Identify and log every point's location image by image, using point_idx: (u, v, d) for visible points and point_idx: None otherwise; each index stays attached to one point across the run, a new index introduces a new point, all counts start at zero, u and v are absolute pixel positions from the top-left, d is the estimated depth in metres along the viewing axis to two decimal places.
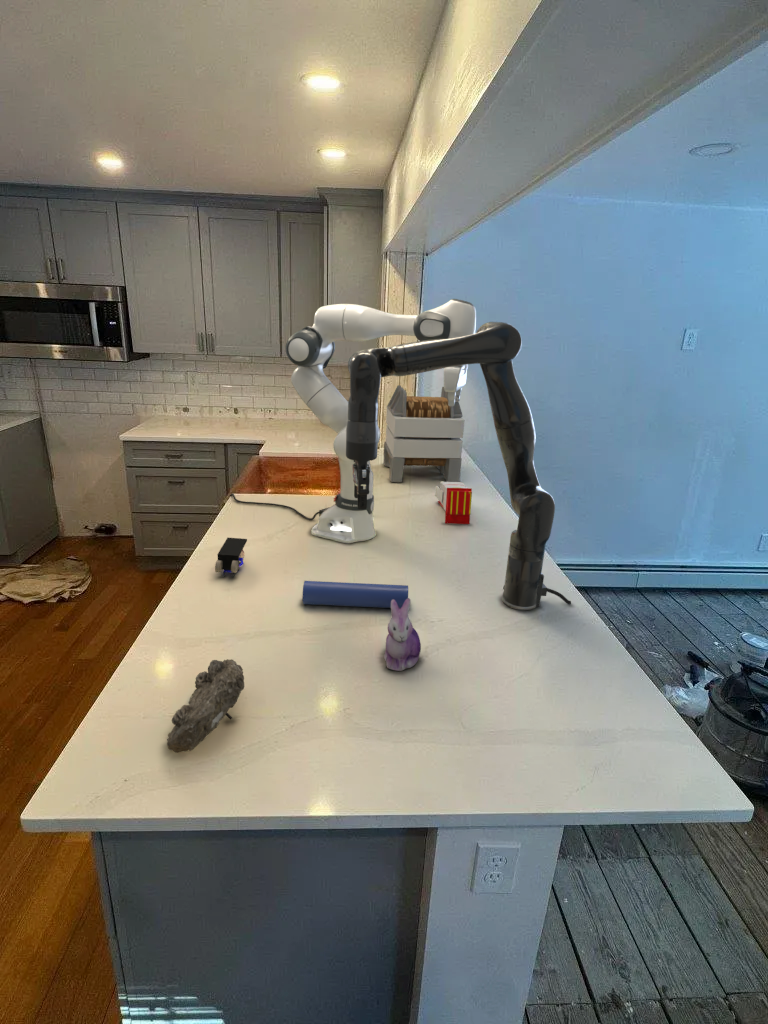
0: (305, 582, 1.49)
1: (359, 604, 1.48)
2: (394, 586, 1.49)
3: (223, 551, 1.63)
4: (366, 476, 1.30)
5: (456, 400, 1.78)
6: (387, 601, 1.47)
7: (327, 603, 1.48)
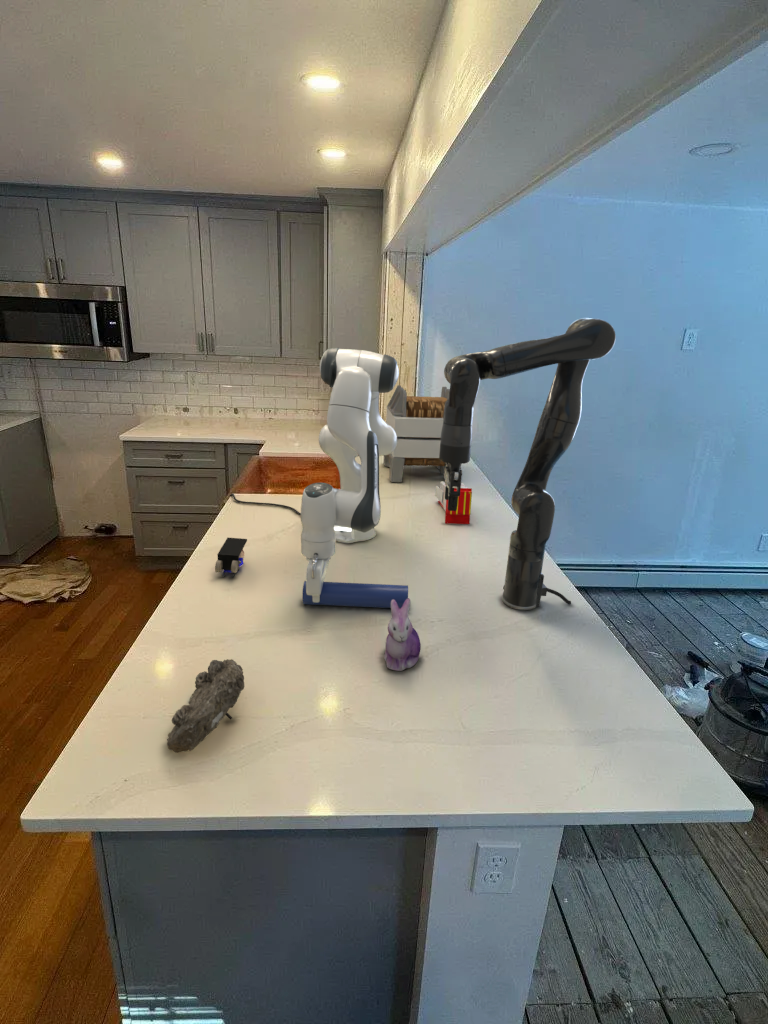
0: (305, 582, 1.49)
1: (359, 604, 1.48)
2: (394, 586, 1.49)
3: (223, 551, 1.63)
4: (458, 478, 1.34)
5: None
6: (387, 601, 1.47)
7: (327, 603, 1.48)
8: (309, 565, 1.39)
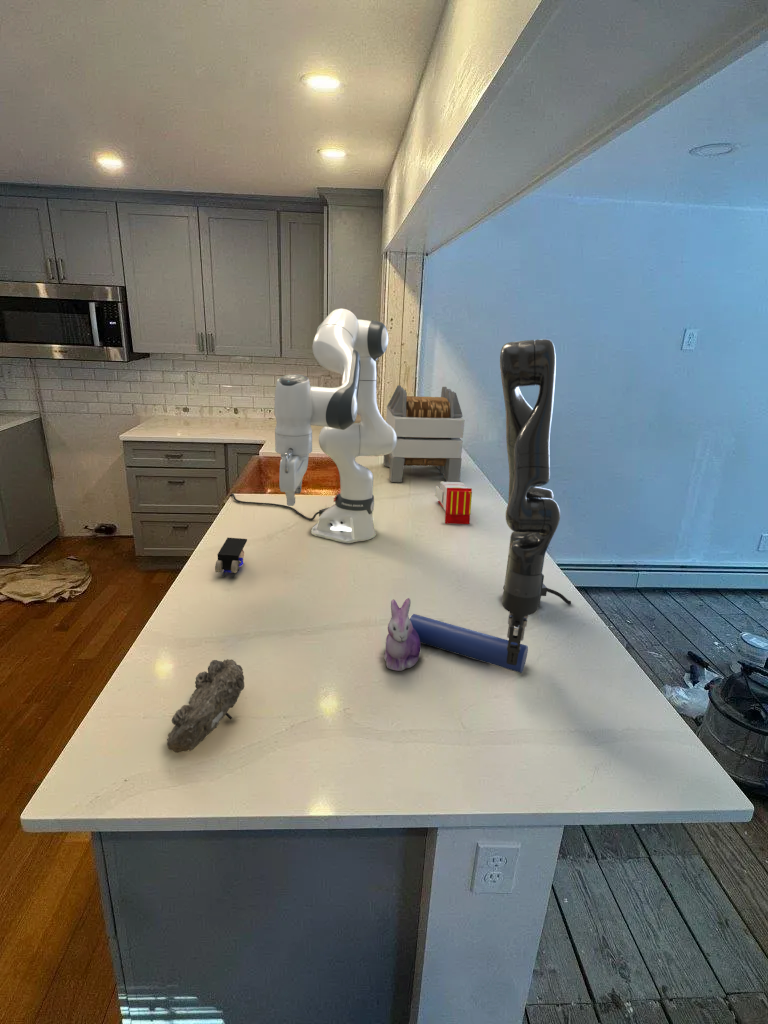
0: (415, 614, 1.37)
1: (465, 649, 1.28)
2: None
3: (223, 551, 1.63)
4: (518, 635, 1.16)
5: None
6: (498, 652, 1.25)
7: (431, 640, 1.31)
8: (283, 459, 1.30)
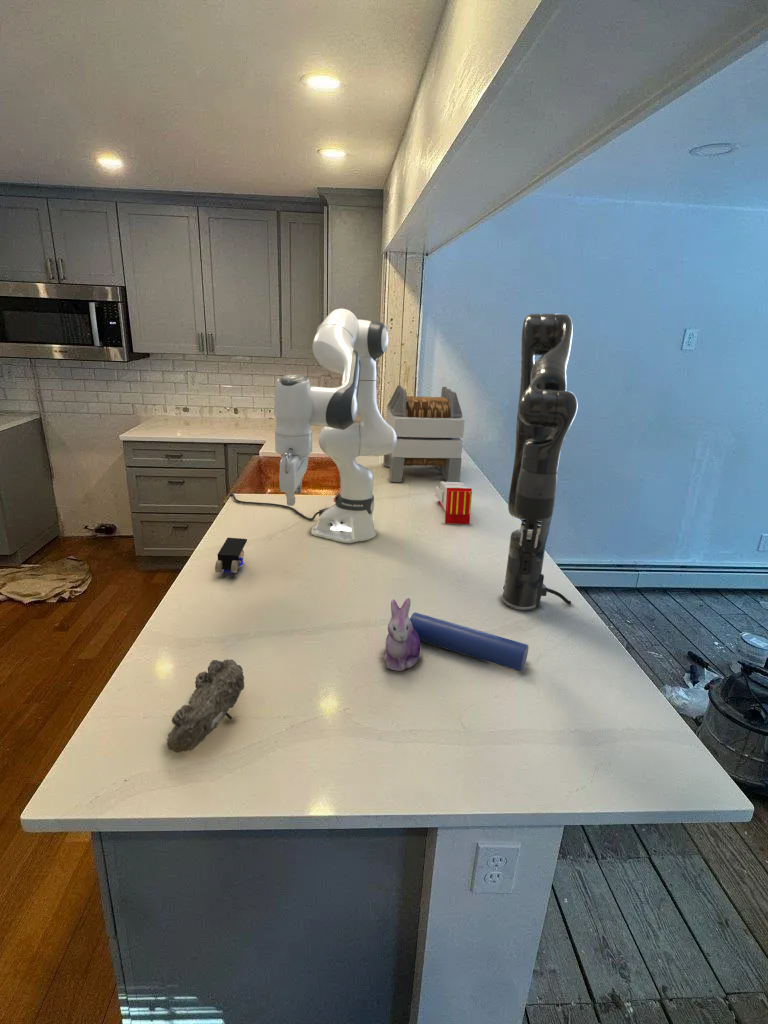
0: None
1: (466, 646, 1.28)
2: (512, 640, 1.28)
3: (223, 551, 1.63)
4: (531, 538, 1.09)
5: None
6: (499, 649, 1.25)
7: (432, 637, 1.32)
8: (283, 459, 1.30)
